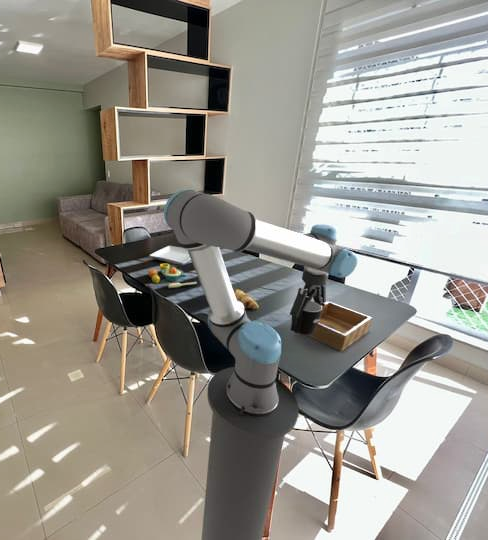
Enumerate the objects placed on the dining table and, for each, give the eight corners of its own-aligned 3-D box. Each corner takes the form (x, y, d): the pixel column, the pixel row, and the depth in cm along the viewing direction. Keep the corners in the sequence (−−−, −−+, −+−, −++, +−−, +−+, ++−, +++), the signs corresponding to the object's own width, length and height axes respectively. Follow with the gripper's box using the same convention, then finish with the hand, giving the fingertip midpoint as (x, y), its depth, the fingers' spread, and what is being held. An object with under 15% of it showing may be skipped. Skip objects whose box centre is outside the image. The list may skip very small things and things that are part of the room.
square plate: (148, 260, 200) (148, 254, 198) (169, 249, 221) (169, 245, 219) (182, 267, 185) (183, 262, 184) (201, 256, 206) (201, 250, 205)
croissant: (259, 314, 136) (265, 299, 136) (252, 313, 129) (258, 296, 128) (221, 299, 150) (226, 285, 150) (212, 297, 142) (217, 282, 142)
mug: (311, 340, 99) (317, 314, 95) (285, 330, 105) (289, 305, 101) (322, 326, 107) (328, 301, 103) (296, 317, 113) (301, 294, 109)
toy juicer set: (141, 277, 172) (141, 265, 169) (165, 270, 182) (165, 258, 179) (172, 294, 150) (172, 280, 147) (197, 285, 160) (198, 272, 157)
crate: (341, 351, 105) (345, 336, 102) (297, 330, 118) (300, 315, 116) (367, 332, 116) (372, 317, 114) (324, 314, 129) (328, 301, 127)
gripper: (323, 260, 106) (312, 311, 114) (284, 275, 94) (275, 331, 102) (345, 266, 100) (331, 320, 109) (307, 283, 88) (295, 342, 96)
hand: (304, 325), depth 105 cm, fingers closed on mug, 12 cm apart
